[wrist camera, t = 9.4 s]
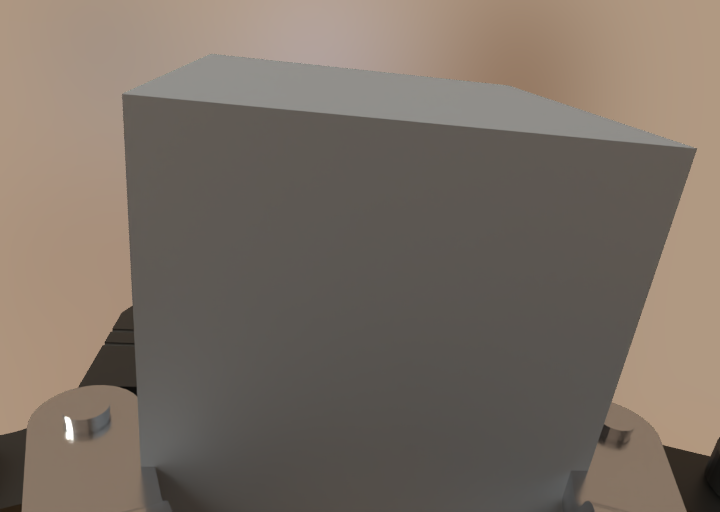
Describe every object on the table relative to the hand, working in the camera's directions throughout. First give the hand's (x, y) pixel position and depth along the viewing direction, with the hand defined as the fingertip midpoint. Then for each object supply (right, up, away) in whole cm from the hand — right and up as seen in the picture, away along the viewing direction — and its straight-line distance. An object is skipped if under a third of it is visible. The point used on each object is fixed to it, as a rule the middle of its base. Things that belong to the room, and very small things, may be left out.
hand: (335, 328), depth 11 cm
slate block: (0, -7, 0) cm, 7 cm away
